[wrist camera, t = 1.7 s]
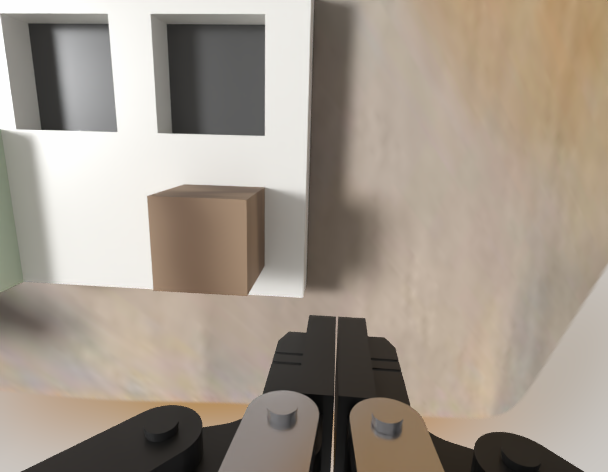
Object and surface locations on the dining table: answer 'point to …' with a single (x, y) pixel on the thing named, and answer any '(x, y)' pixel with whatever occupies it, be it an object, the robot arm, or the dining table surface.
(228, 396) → the dining table surface
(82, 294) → the dining table surface
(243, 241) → the walnut block
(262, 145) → the board
